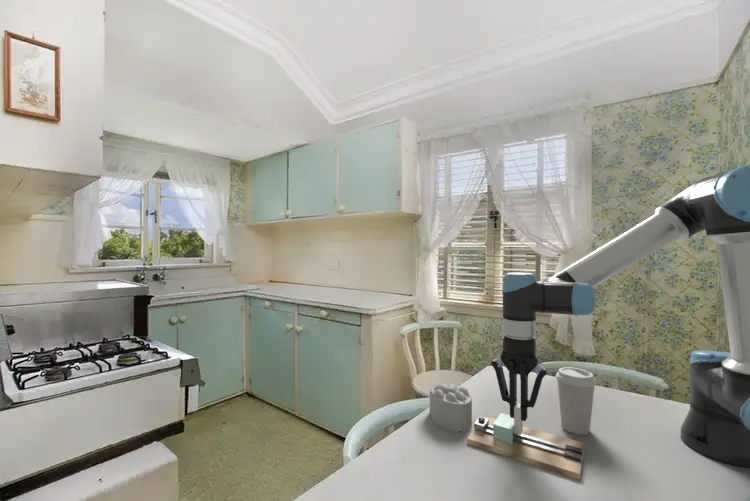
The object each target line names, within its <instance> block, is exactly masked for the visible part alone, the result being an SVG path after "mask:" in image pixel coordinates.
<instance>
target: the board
mask: <svg viewBox="0 0 750 501" xmlns="http://www.w3.org/2000/svg"><path fill="white" fill-rule="evenodd" d="M482 417H483V418H487V419H489V425H492V426H493V424H494V422H495V421H496V419H497V418H493V417H489V416H486V415H483V416H482ZM487 429H488V428H487ZM489 430H491V429H489ZM492 431H493V430H492ZM521 434H524V435H528V436H531V437H535V438H538V439H542V440H546V441H549V442H553V443H556V444H560V445H563V446H566V444H567V445H570V446H574V447H577V448H581V449H582V455H581V462H579V461H576V460H572V459H569V458H565V457H564V456H561V455H558V454H554V453H551V452H548V451H544V450H541V449H538V448H534V447H531V446H527V445H524V444H521V443H517V442H514V441H513V443H512V444H510V443H507V442H504V441H500V440H497V439H494V438H493V435H490V434H487V433H482V432H478V431H475V430H474V429H473V430H472V431H471V432H470V434H468V436H467V438H466V444H467V445H471V446H475V447H477V448H480V449H483V450H485V451H489V452H493V453H496V454H498V455H502V456H506V457H509V458H512V459H514V460H518V461H520V462H524V463H526V464H529V465H533V466H537V467H539V468H542V469H545V470H548V471H550V472H551V471H552V472H555V473H557V474H560V475H564V476H567V477H571V478H573V479H577V480H581V474H582V468H583V460H584V453H585V442H582V441H578V440H575V439H570V438H567V437H563V436H560V435H556V434H552V433H549V432H545V431H541V430H538V429H534V428H532V427H531V428H530V427H527V426H524V425H523V431H522V433H521ZM513 437H516V436H513ZM516 438H519V437H516ZM520 439H523V438H520ZM523 440H526V439H523ZM526 441H530V440H526ZM530 442H533V441H530ZM533 443H536V442H533ZM537 444H540V443H537ZM540 445H543V444H540ZM544 446H547V445H544ZM547 447H550V446H547ZM551 448H554V447H551ZM554 449H557V448H554ZM557 450H561V449H557ZM561 451H564V450H561Z"/></svg>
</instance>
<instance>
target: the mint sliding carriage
mask: <svg viewBox="0 0 750 501" xmlns="http://www.w3.org/2000/svg"><path fill="white" fill-rule="evenodd" d="M495 419H496V421H495V422H494V424H493V438H494V439H497V440H500V441H504V442H507V443H510V444H512V443H513V433H514V418H511V417H510V414H507V413H502V412H500V413H499V415H498V416H497V417H496V418H495Z"/></svg>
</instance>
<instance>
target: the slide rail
mask: <svg viewBox="0 0 750 501" xmlns="http://www.w3.org/2000/svg"><path fill="white" fill-rule="evenodd" d="M473 426H474V429H473V430H475V431H478V432H482V433H487V434H490V435H493V431H492V430H493V426H492V425H489V419H487V418H483V416H479V417H478V418H477V419H476V421H475V422H474V424H473ZM487 428H488V429H487ZM489 429H491V430H489ZM513 436H516V437H519V438H516V437H513V441H514V442H517V443H521V444H524V445H527V446H531V447H534V448H538V449H541V450H544V451H548V452H551V453H554V454H558V455H561V456H564V457H565V458H569V459H572V460H576V461H579V462H581V455H582V449H581V448H577V447H574V446H570V445H567V444H566V446H563V445H560V444H556V443H553V442H549V441H546V440H542V439H538V438H535V437H531V436H528V435H524V434H521V435H518V434H514V433H513ZM520 438H523V439H526V440H530V441H533V442H536V443H533V442H530V441H526V440H523V439H520ZM537 443H540V444H543V445H540V444H537ZM544 445H547V446H550V447H547V446H544ZM551 447H554V448H557V449H561V450H564V451H561V450H557V449H554V448H551Z"/></svg>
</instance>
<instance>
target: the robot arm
mask: <svg viewBox="0 0 750 501" xmlns="http://www.w3.org/2000/svg"><path fill="white" fill-rule="evenodd" d="M703 231H705V234H706V235H705V236H706V237H707V238H708V239H710V240H711V241H713V242H714V243H715V244H716V245H717V252H718V260H719V269H720V278H721V284H722V285H721V286H722V294H723V303H724V311H725V319H726V327H727V336H728V344H729V351H730V352H729V351H717V350H704V349H703V350H700V349H699V350H698V349H697V350H694V351H692V352H691V354H690V359H689V363H688V365H689V410H688V412H687V415H686V416H685V418H684V420H683V422H682V425H681V426H680V440H681V441H682V442H683V444H685V445H686V446H688V447H689V448H691V449H692V450H694V451H696V452H698V453H700V454H702V455H704V456H707V457H709V458H711V459H714V460H717V461H719V462H723V463H726V464H729V465H734V466H740V467H745V468H750V164H748V165H741V166H736V167H732V168H730V169H727V170H725V171H723V172H720V173H717V174H714V175H711V176H707V177H705V178H701V179H699V180H697V181H696V182H694V183H693V184H691V185H689V186H688V187H686V188H685V189H683V190H682V191H681V192H679V193H678V194H676V195H674V196H673V197H672V198H670V199H669V200H667V201H665V203H663V204H661V205H660V206H659V207H656V208H655V210H654V214H653V215H652V216H650V217H649V218H646V219H645V220H643V221H642V222H640V223H638V224H636V225H635V226H634V227H632V228H630V229H628V230H626V232H623V233H622V234H621V235H619V236H617V237H615V238H614V239H612V240H610V241H609V242H607V243H605V244H604V245H602V246H600V247H599V248H597V249H596V250H594V251H592V252H591V253H589V254H587V255H586V256H584V257H583V258H581V259H579V260H577V261H576V262H574V263H572V264H571V265H569V266H567V267H566V268H564V269H563V270H562V271H560V272H558V273H556V274H554V275H553V276H548V277H545V278H544V279H543V280H541V281H539V280H537V275H536V274H535V273H531V272H507V273H505V274H504V275H503V278H502V279H503V280H502V334H504V335H502V352H501V354H500V357H498V358H494V359H493V360H491V364H490V365H491V366H492V367H493V369H494V371H495V375H496V379H497V383H498V388H499V392H500V397H501V400H502V401H503V402H506V403H507V404H508V405H509V415H510V417H511V418H514V434H518V435H521V433H522V431H523V426H524V422H526V420H527V419H528V408H531V409H532V408H534V407H535V406H536V403H537V399H538V396H539V393H540V389H541V384H542V382H543V378H544V377H545V376H546V375H547V373H548V372H549V369H548V368H547V367H546V366H545V367H544V366H542V364H540V362H539V360H538V358H537V356H536V353H537V352H536V351H537V350H536V349H537V348H536V346H537V340H536V339H537V338H536V337H535V336H536V334H537V332H536V330H537V323H536V322H537V318H536V317H537V316H536V315H537V314H538V313H540V314H552V315H553V314H554V315H555V314H557V315H567V316H568V315H570V316H576V317H577V316H590V315H592V314H593V313H594V310H595V304H596V298H595V296H596V295H595V292H594V288H595V287H596V286H597V285H600V284H601V283H603V282H605V281H607V280H608V279H610V278H612V277H614V276H615V275H618V273H620V272H622V271H624V270H625V269H627V268H630V267H631V266H632V265H634V264H636V263H637V262H640V261H641V260H643V259H645V258H647V257H648V256H650V255H651V254H653V253H655V252H656V251H659V250H660V249H662V248H664V247H665V246H667V245H669V244H671V243H672V242H674V241H676V240H678V239H679V240H686V239H688V238H690V237H692V236H694V235H696V234H698V233H700V232H701V233H702V232H703ZM503 365H504V366H505V368H506V370H507V371H508V378H509V380H508V382H509V384H507V381H506V376H505V373H504V368H503ZM534 369H535V375H536V377H535V379H534V380H535V381H534V384H533V387H532V391H531V394H530V398H529V375H530V373H531V372H533V370H534ZM518 375H519V379H520V403H519V402H517V401H518V398H517V397H518V395H517V394H518V390H517V389H518V387H517V386H518V385H517V384H518V380H517V379H518ZM508 385H509V389H508Z"/></svg>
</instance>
